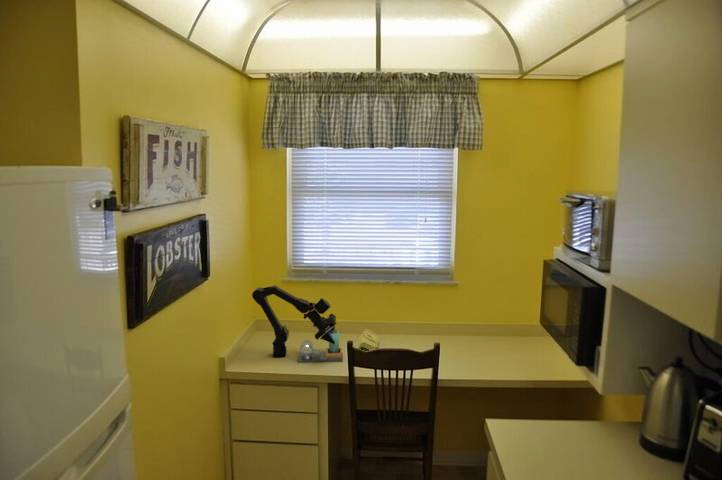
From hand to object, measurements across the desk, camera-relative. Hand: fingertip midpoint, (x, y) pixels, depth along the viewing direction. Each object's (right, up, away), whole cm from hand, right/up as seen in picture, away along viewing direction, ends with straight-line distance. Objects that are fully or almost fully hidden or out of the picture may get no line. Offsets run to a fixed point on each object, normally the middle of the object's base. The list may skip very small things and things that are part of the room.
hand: (336, 341), depth 272 cm
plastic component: (+17, -7, +20) cm, 27 cm away
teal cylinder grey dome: (-1, -7, +1) cm, 7 cm away
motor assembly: (-8, -9, +1) cm, 12 cm away
